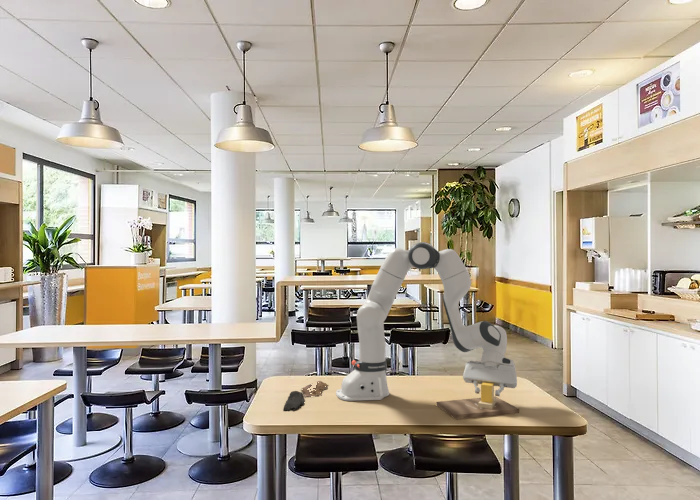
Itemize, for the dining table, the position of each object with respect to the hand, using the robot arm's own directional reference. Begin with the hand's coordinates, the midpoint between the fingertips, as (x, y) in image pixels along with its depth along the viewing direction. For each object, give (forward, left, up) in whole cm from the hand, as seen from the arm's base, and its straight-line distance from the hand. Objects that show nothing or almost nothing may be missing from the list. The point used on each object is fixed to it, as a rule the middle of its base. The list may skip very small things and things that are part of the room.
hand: (487, 394), depth 188 cm
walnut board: (-4, +1, -6) cm, 7 cm away
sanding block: (+1, +1, -4) cm, 4 cm away
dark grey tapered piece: (-69, +29, -6) cm, 75 cm away
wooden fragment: (-58, +46, -6) cm, 74 cm away
